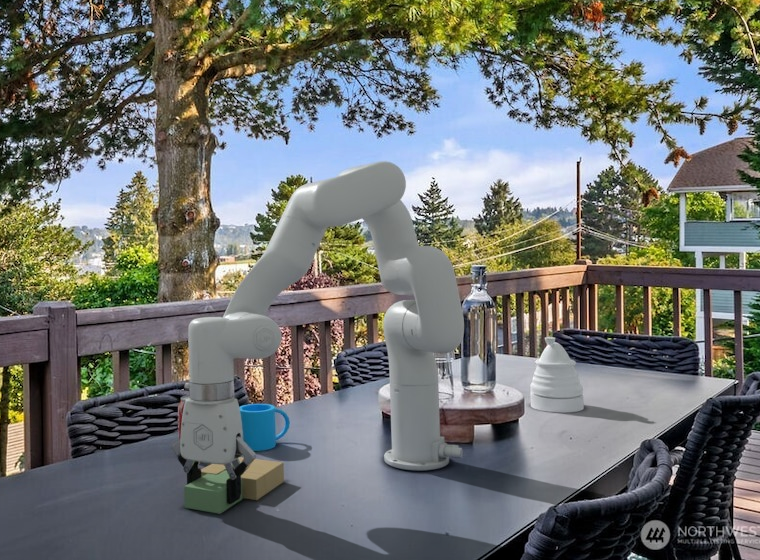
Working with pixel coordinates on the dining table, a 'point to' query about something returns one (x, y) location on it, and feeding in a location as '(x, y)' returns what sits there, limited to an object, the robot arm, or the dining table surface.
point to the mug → (261, 426)
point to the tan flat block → (254, 477)
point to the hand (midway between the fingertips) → (213, 497)
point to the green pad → (209, 493)
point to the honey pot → (556, 381)
